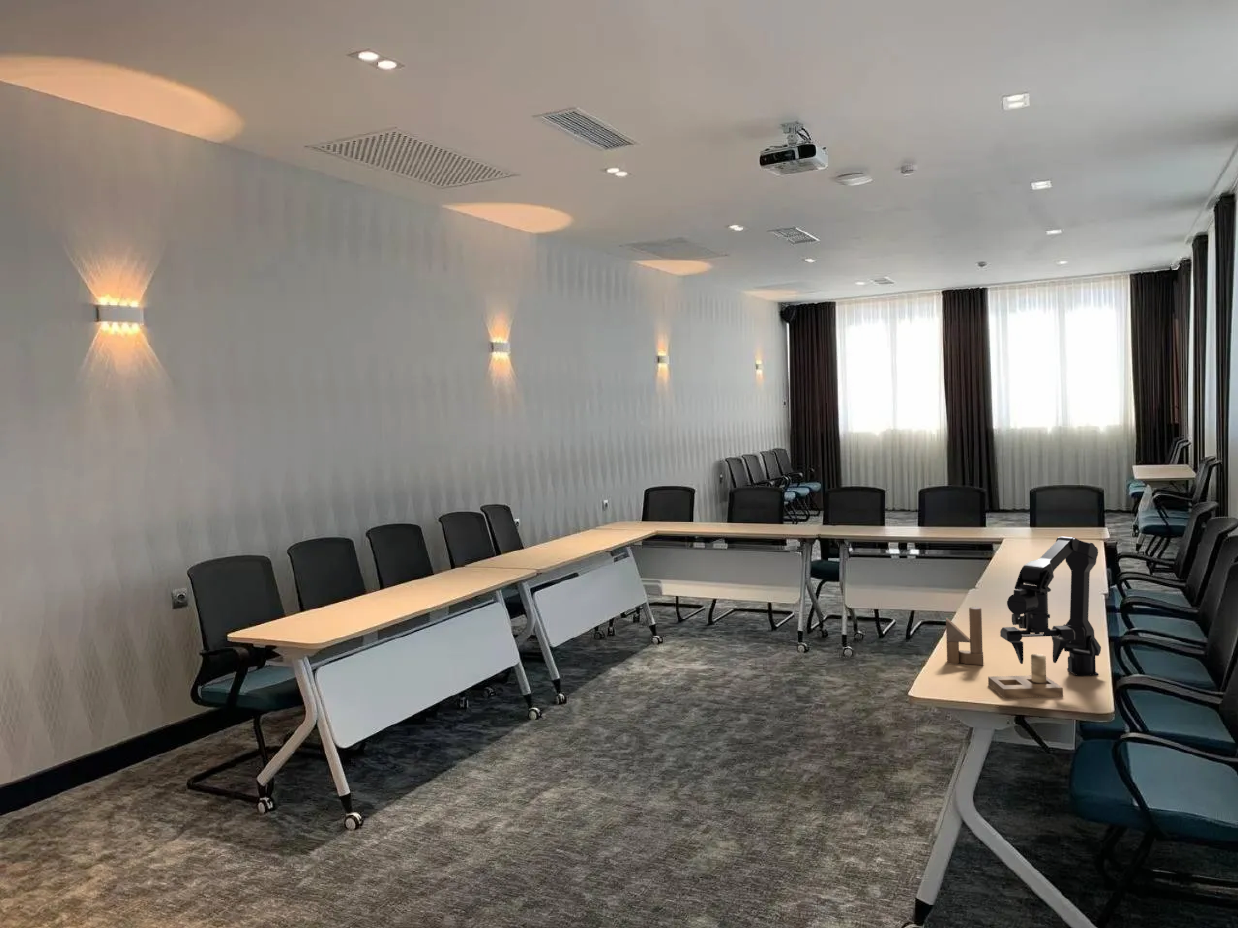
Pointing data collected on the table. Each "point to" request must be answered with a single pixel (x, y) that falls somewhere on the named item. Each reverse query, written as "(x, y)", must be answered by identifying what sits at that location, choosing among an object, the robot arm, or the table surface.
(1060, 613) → the table surface
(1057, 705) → the table surface
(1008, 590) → the table surface
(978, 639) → the wooden block structure
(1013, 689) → the board
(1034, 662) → the dowel
